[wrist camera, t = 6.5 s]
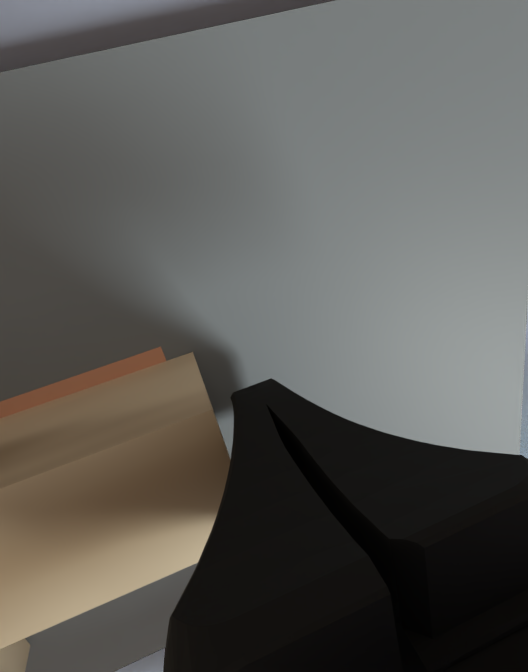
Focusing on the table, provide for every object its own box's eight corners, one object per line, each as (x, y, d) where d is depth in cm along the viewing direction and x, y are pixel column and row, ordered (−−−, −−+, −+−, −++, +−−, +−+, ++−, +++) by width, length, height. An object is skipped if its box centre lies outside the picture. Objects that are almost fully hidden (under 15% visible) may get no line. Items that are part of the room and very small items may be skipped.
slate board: (499, 466, 19) (518, 481, 18) (-117, 749, 14) (-134, 788, 14) (512, -28, 11) (546, -46, 10) (-825, 265, 7) (-975, 281, 6)
